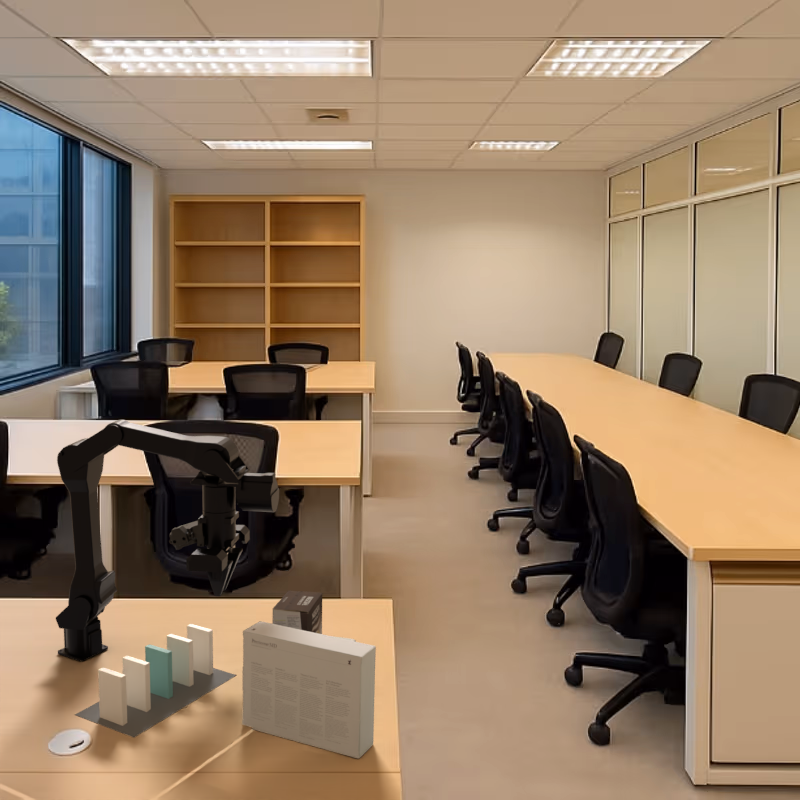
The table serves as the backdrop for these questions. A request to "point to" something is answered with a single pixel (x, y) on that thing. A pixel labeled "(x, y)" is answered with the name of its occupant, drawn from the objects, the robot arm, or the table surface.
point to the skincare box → (309, 687)
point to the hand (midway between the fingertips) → (220, 592)
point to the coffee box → (299, 611)
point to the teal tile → (160, 670)
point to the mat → (160, 704)
